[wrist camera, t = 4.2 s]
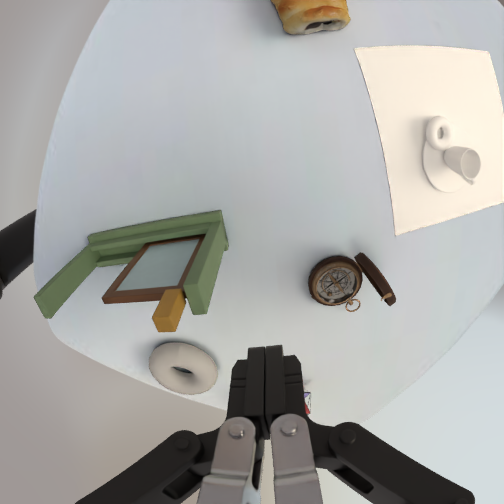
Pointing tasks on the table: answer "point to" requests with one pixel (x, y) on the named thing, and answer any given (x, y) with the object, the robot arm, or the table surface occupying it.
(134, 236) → the window frame
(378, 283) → the compass
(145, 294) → the sash
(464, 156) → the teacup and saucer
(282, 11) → the pastry
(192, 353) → the donut
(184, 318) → the table surface
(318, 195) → the table surface
